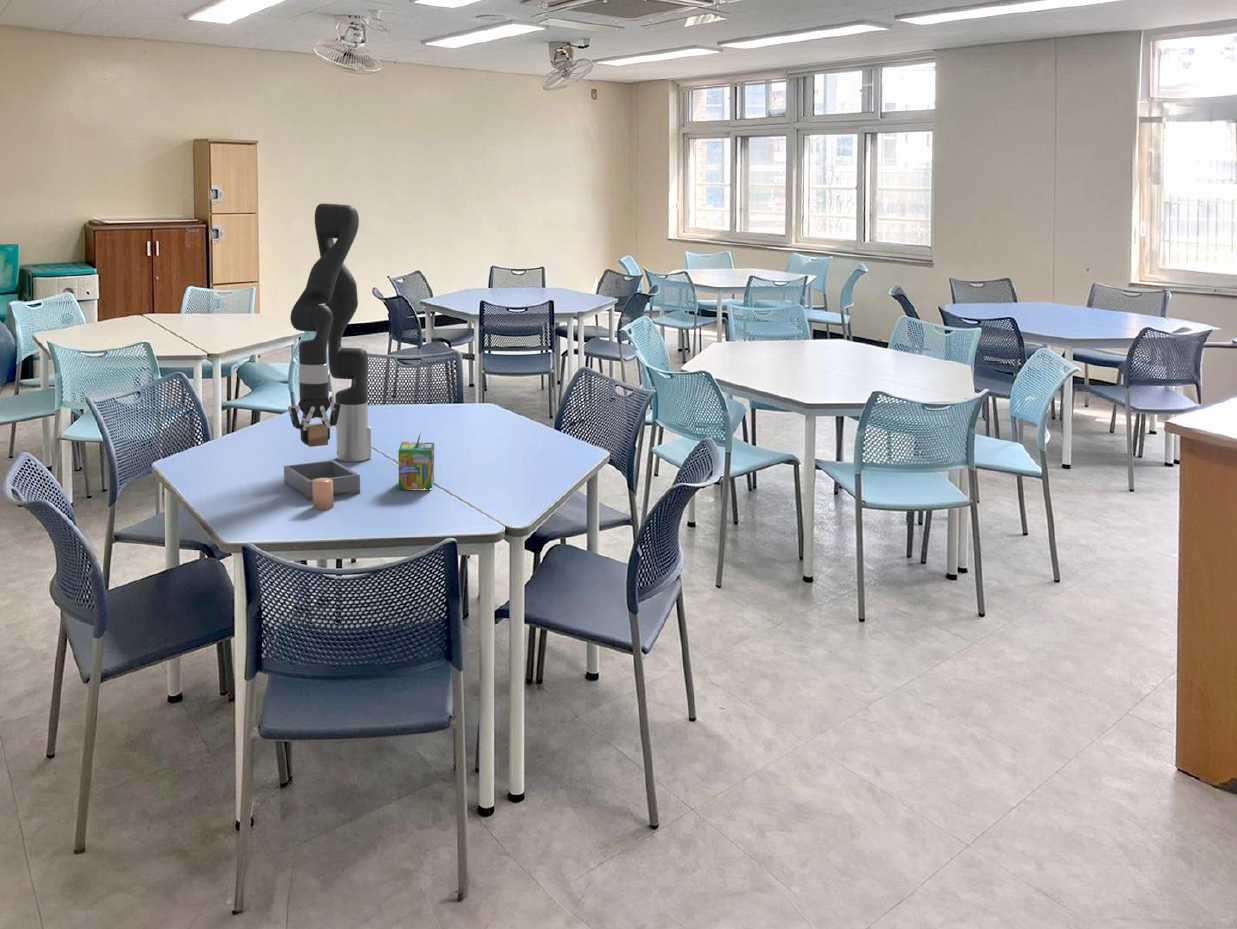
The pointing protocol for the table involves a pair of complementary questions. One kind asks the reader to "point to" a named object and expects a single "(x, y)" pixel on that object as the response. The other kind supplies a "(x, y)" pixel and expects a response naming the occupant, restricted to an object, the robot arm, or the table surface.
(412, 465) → the juice box
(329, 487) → the terracotta cylinder
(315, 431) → the walnut cube
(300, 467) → the charcoal tote
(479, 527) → the table surface
